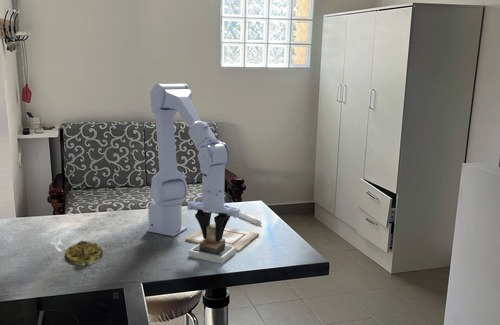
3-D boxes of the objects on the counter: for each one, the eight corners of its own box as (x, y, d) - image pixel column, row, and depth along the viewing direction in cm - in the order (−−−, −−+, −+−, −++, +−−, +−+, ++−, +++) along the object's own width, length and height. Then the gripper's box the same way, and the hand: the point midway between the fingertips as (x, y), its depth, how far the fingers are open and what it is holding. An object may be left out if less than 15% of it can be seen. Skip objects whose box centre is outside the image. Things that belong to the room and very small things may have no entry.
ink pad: (188, 256, 129) (188, 249, 129) (203, 246, 137) (203, 240, 136) (222, 263, 125) (222, 256, 125) (235, 252, 133) (235, 246, 132)
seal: (63, 251, 133) (69, 273, 120) (60, 235, 132) (66, 255, 119) (98, 243, 137) (108, 263, 124) (95, 227, 136) (105, 245, 123)
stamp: (199, 249, 129) (199, 227, 128) (208, 243, 134) (209, 222, 132) (216, 253, 127) (216, 230, 126) (225, 247, 132) (225, 225, 130)
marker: (264, 226, 155) (264, 219, 155) (259, 227, 154) (259, 220, 153) (231, 211, 169) (231, 204, 168) (226, 212, 168) (226, 205, 167)
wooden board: (185, 240, 140) (185, 238, 140) (208, 226, 152) (208, 223, 152) (238, 251, 133) (239, 249, 133) (258, 235, 146) (258, 233, 146)
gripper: (181, 189, 126) (181, 239, 129) (231, 197, 121) (230, 248, 124) (195, 183, 133) (194, 230, 136) (243, 190, 127) (242, 239, 130)
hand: (212, 238), depth 130 cm, fingers closed on stamp, 3 cm apart
